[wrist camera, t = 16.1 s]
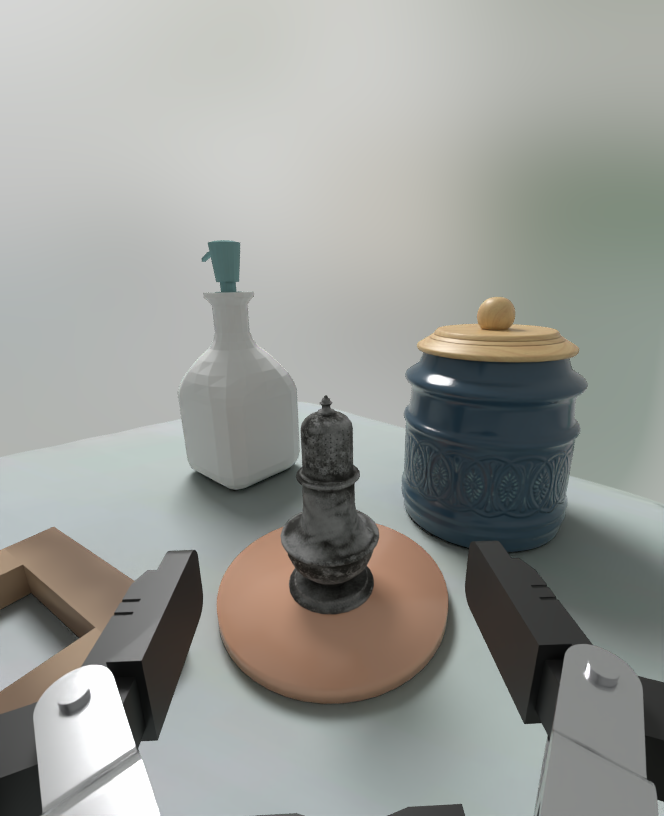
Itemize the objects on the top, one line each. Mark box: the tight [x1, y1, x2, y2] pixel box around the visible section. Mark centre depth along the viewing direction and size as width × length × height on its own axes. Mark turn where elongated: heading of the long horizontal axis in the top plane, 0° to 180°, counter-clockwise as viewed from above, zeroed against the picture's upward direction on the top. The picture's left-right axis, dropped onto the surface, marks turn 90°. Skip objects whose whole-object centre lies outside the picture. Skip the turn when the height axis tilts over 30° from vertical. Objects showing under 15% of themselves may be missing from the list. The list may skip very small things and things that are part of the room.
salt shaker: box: [280, 396, 379, 614], centre depth 23 cm, size 6×6×12 cm
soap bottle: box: [178, 240, 300, 490], centre depth 40 cm, size 10×10×23 cm
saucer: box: [217, 523, 448, 704], centre depth 25 cm, size 14×14×1 cm
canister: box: [402, 297, 588, 552], centre depth 32 cm, size 13×13×18 cm
